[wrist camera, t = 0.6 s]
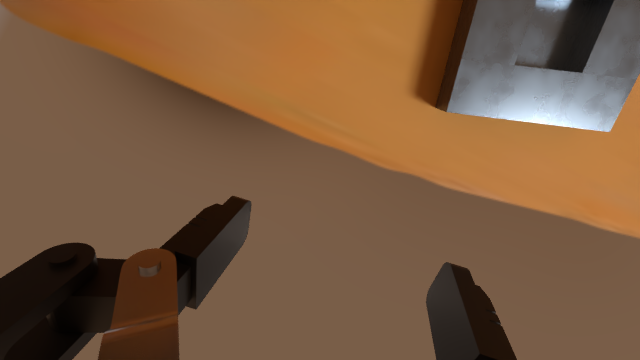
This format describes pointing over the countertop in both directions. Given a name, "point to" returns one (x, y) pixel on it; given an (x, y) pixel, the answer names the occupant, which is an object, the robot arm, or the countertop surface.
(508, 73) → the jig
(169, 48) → the countertop surface
